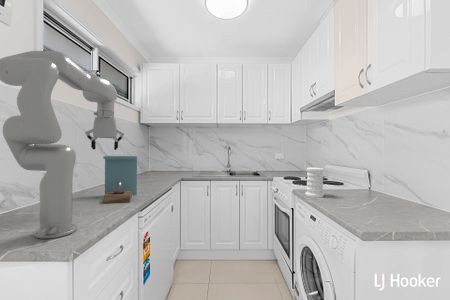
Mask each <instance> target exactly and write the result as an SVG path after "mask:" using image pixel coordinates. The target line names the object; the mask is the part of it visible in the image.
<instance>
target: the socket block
mask: <svg viewBox="0 0 450 300" xmlns="http://www.w3.org/2000/svg"><path fill="white" fill-rule="evenodd" d="M132 196H133V195H132V190H130V191H122V194H115V191H108V192H107V193H106V194H105V193H104V195H103V205H105V204H120V203H121V204H123V203H131V200H132V198H133V197H132Z"/></svg>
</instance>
